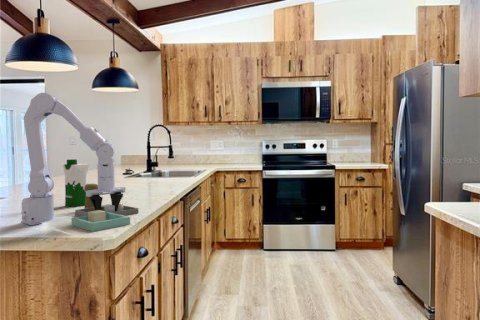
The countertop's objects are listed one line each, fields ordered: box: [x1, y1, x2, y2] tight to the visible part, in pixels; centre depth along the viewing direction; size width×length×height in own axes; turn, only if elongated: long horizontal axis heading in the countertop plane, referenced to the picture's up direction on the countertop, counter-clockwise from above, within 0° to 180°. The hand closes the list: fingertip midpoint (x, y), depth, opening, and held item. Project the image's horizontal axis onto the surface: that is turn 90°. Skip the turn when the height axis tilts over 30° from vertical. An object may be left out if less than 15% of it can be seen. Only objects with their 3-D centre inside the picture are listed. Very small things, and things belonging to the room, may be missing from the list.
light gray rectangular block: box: [101, 203, 115, 213], centre depth 138 cm, size 4×4×4 cm
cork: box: [83, 183, 98, 209], centre depth 152 cm, size 6×6×11 cm
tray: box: [74, 204, 139, 217], centre depth 143 cm, size 17×15×2 cm
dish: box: [70, 212, 131, 233], centre depth 125 cm, size 13×13×3 cm
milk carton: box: [62, 159, 90, 208], centre depth 166 cm, size 9×9×20 cm
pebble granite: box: [117, 201, 124, 211], centre depth 146 cm, size 4×4×4 cm
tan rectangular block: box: [88, 210, 106, 222], centre depth 126 cm, size 4×4×4 cm
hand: (106, 214), depth 138 cm, fingers open, 6 cm apart
